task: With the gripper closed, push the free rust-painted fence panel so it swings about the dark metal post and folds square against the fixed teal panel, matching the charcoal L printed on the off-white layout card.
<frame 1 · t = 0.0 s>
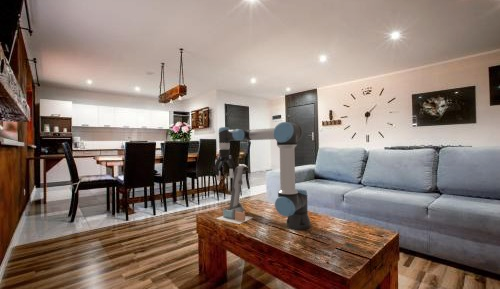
hand: (225, 179, 167), 28 cm above the table, fingers open, 13 cm apart
fence panel: (240, 215, 161), point 4 cm above the table, hinge at 0.0°
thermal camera: (235, 210, 186), on the table
layout card: (234, 218, 166), on the table
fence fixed: (234, 219, 164), resting on layout card
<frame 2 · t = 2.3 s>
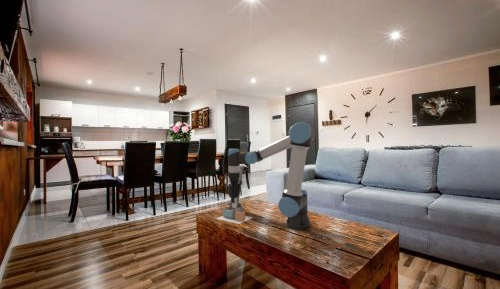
hand: (234, 207, 156), 11 cm above the table, fingers closed
nothing on the table moved.
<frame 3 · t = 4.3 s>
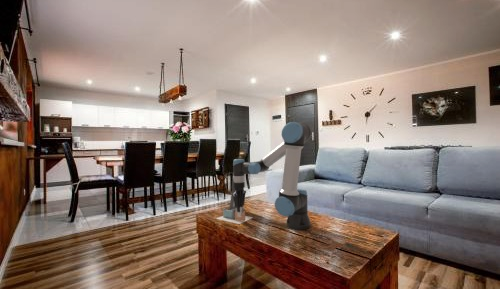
hand: (239, 216, 160), 3 cm above the table, fingers closed
fence panel: (240, 215, 161), point 4 cm above the table, hinge at 0.3°, touching gripper
everything else where it was.
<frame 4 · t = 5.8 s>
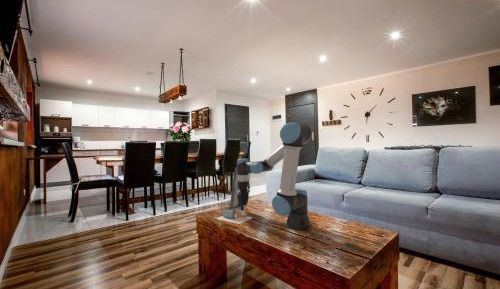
hand: (243, 214, 163), 3 cm above the table, fingers closed
fence panel: (241, 213, 165), point 4 cm above the table, hinge at 45.1°, touching gripper
everything else where it was.
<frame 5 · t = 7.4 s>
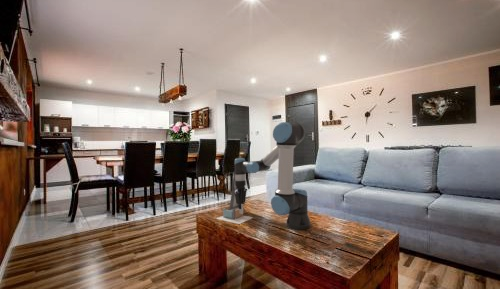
hand: (241, 213, 168), 3 cm above the table, fingers closed
fence panel: (238, 212, 169), point 4 cm above the table, hinge at 89.1°, touching gripper
everything else where it was.
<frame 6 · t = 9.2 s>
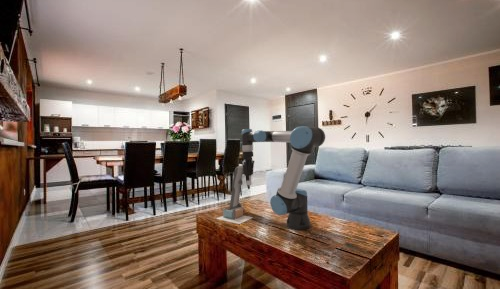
hand: (249, 185, 164), 24 cm above the table, fingers closed
fence panel: (238, 212, 169), point 4 cm above the table, hinge at 89.1°
everything else where it was.
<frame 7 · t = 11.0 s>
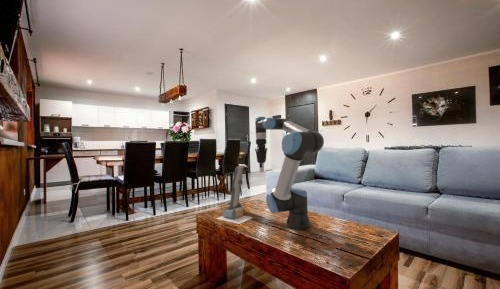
hand: (261, 171, 167), 32 cm above the table, fingers closed
nothing on the table moved.
at the end: fence panel at +89° (first picture: +0°) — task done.
